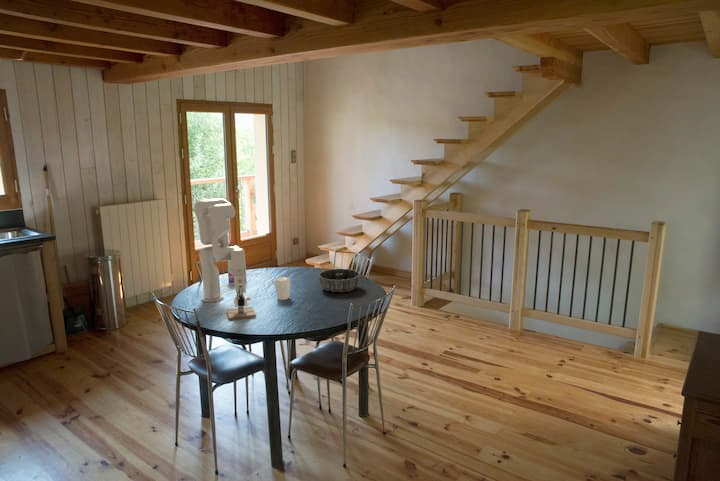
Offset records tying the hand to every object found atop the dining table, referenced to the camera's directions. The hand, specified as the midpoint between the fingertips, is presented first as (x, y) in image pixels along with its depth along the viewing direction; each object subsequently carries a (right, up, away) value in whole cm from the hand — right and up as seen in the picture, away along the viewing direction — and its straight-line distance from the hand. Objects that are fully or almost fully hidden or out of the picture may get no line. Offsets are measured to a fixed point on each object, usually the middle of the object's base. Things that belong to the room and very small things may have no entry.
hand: (240, 303), depth 268 cm
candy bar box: (-18, +6, +65) cm, 68 cm away
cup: (+18, -1, +30) cm, 35 cm away
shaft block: (0, -6, +1) cm, 6 cm away
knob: (0, -1, 0) cm, 1 cm away
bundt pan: (+51, +3, +47) cm, 70 cm away
